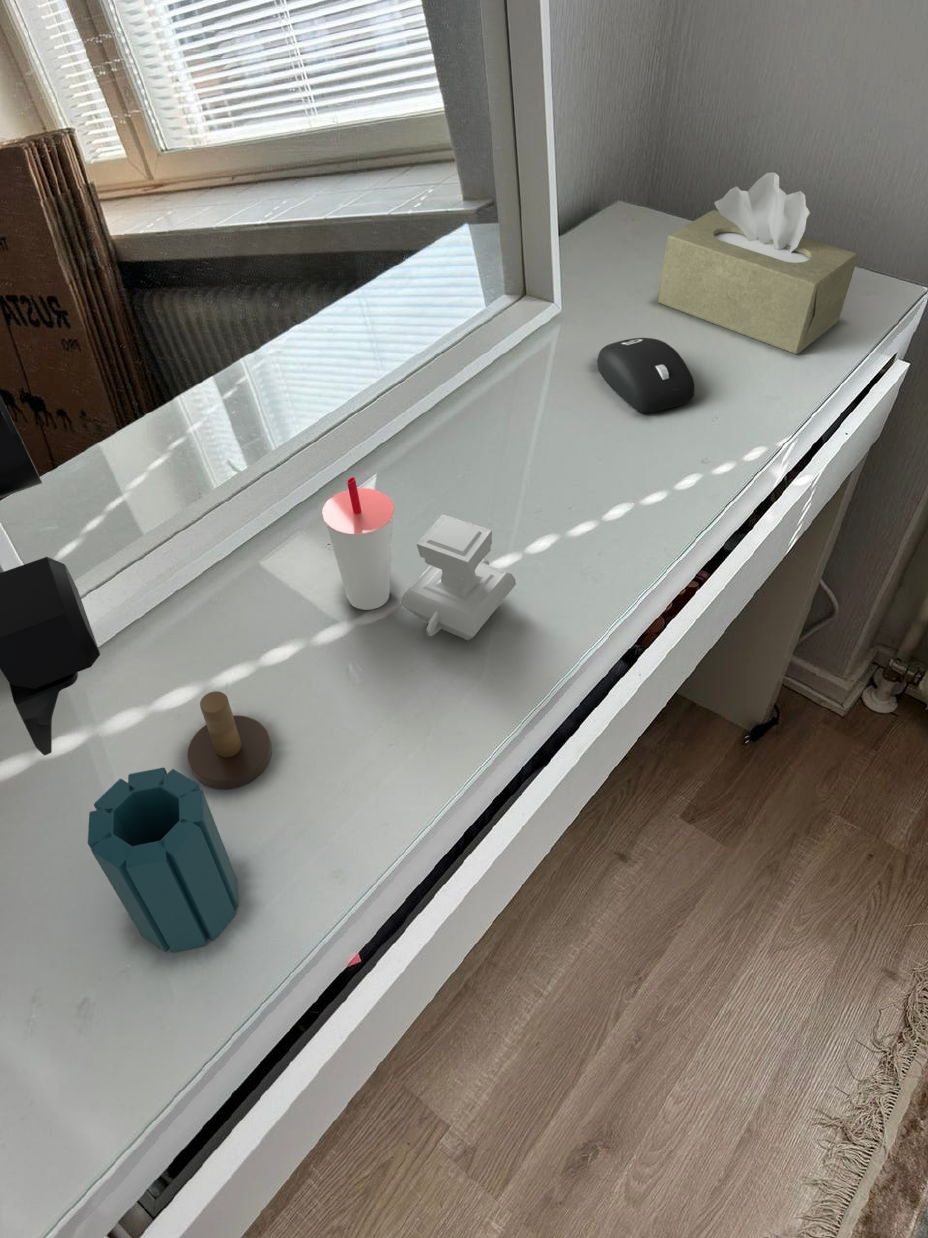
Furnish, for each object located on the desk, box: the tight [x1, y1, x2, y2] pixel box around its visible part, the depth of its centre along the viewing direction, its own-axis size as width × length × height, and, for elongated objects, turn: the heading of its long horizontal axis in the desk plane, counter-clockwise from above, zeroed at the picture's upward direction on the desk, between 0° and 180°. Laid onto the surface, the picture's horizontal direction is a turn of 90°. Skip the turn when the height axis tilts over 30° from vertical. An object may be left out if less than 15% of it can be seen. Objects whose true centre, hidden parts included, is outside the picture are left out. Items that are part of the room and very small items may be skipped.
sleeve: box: [87, 766, 240, 954], centre depth 53 cm, size 6×6×10 cm
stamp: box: [399, 513, 517, 641], centre depth 70 cm, size 9×7×8 cm
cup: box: [321, 476, 395, 611], centre depth 70 cm, size 5×5×12 cm
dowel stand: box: [187, 690, 273, 790], centre depth 62 cm, size 6×6×6 cm
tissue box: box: [657, 172, 859, 355], centre depth 101 cm, size 19×10×16 cm, turn 48°
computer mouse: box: [596, 337, 695, 413], centre depth 95 cm, size 8×12×4 cm, turn 24°
